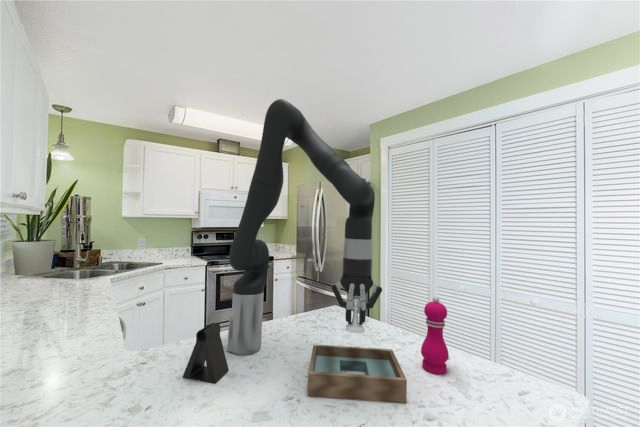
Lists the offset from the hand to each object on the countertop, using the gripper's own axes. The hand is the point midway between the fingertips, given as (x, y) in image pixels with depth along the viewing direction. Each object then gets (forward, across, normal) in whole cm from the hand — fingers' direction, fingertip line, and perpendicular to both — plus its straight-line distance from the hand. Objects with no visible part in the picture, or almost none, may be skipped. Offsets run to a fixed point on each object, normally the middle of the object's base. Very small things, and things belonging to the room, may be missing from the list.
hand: (355, 323), depth 74 cm
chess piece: (+2, 0, 0) cm, 2 cm away
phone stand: (+14, -37, -4) cm, 40 cm away
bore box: (+14, 0, -1) cm, 14 cm away
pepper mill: (+14, +23, +8) cm, 28 cm away
